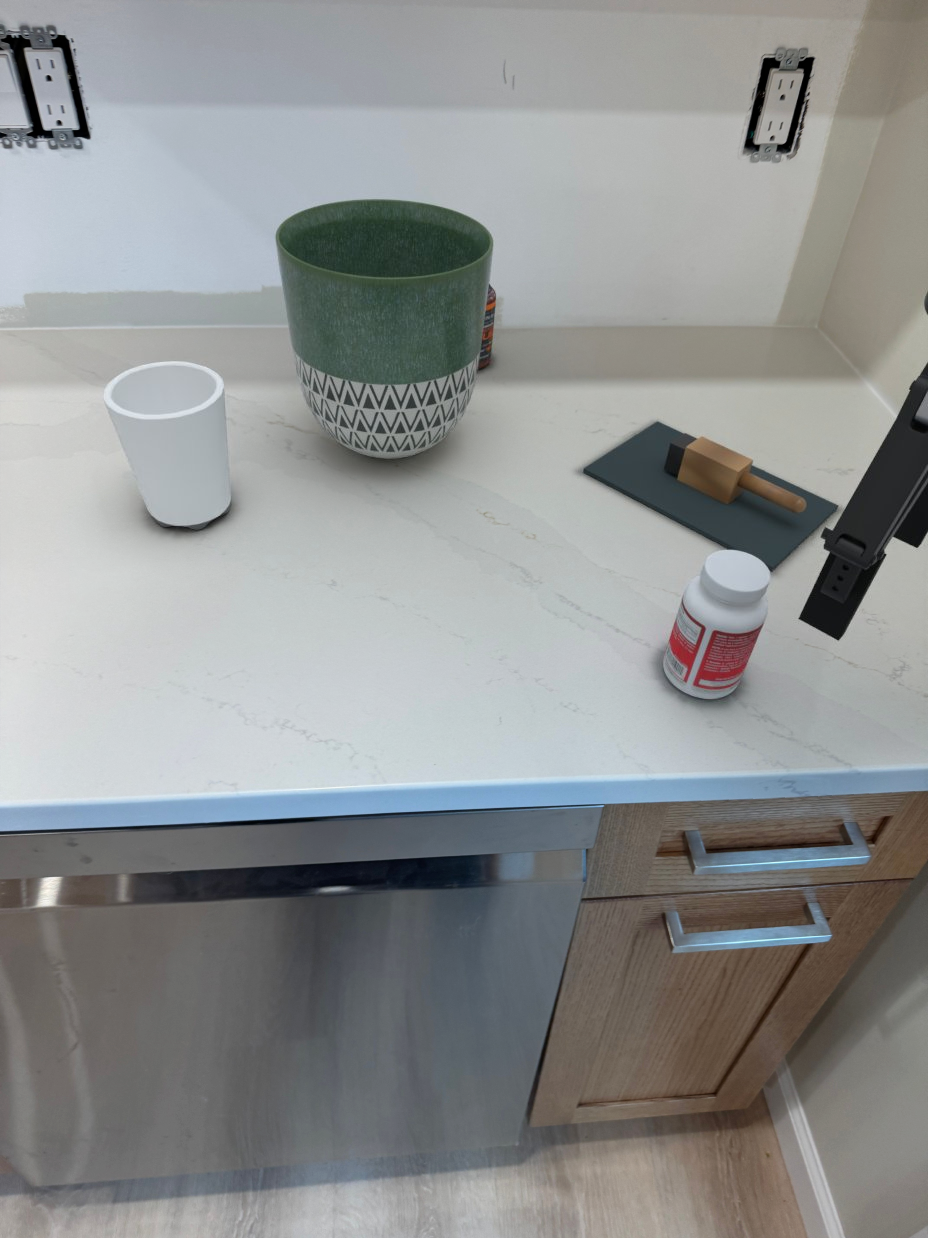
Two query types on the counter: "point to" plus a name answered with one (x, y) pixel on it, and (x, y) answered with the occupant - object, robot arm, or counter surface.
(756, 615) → the pill bottle
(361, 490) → the counter surface
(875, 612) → the counter surface
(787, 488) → the mat
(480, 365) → the supplement bottle
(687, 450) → the scrub brush
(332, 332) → the planter
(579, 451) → the counter surface
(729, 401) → the counter surface
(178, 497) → the cup
